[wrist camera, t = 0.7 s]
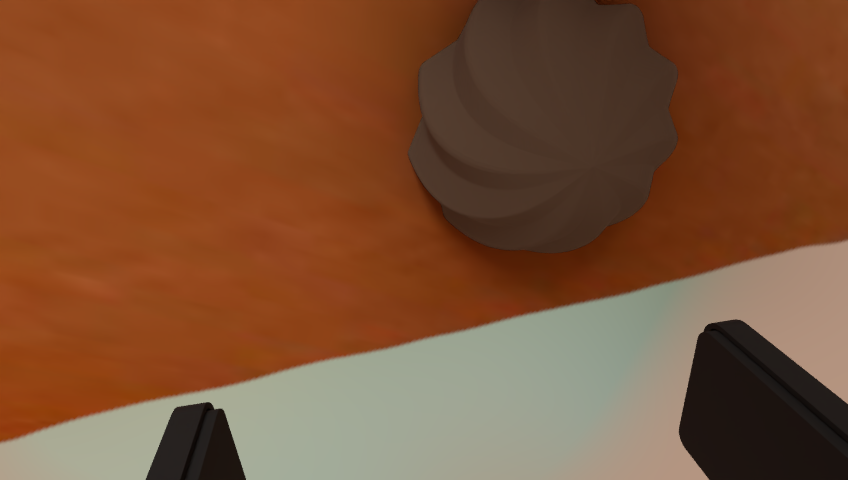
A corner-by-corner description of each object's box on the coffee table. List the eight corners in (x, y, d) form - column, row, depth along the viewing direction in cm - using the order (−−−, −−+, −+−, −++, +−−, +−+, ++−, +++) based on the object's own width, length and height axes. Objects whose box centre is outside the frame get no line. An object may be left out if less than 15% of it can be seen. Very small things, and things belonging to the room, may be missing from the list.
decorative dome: (472, 281, 43) (507, 355, 34) (359, 61, 34) (366, 83, 25) (682, 177, 42) (775, 225, 33) (620, -79, 33) (725, -108, 24)
